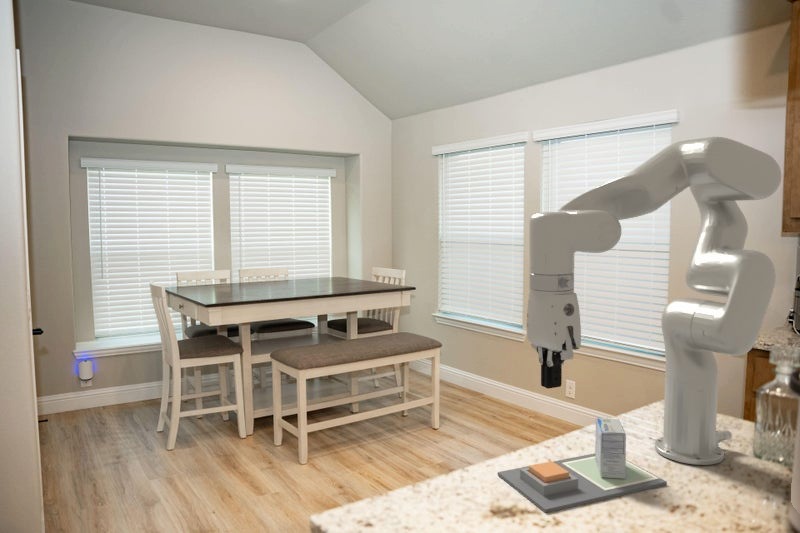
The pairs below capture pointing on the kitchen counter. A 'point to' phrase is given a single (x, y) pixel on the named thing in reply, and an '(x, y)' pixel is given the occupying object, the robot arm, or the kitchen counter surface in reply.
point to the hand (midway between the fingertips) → (551, 386)
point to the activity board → (578, 484)
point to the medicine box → (610, 448)
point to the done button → (548, 472)
